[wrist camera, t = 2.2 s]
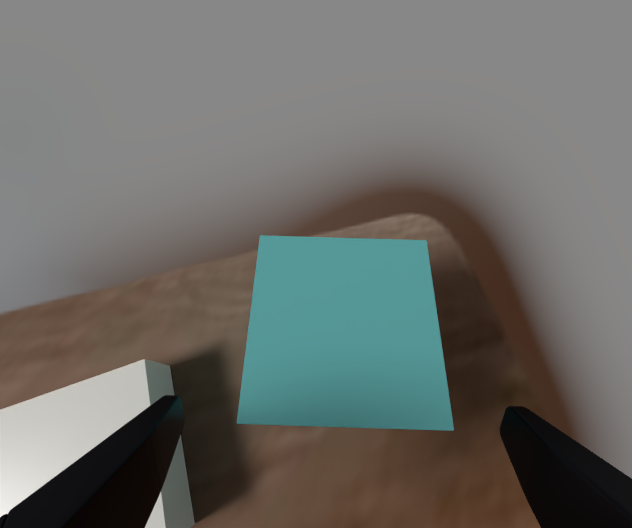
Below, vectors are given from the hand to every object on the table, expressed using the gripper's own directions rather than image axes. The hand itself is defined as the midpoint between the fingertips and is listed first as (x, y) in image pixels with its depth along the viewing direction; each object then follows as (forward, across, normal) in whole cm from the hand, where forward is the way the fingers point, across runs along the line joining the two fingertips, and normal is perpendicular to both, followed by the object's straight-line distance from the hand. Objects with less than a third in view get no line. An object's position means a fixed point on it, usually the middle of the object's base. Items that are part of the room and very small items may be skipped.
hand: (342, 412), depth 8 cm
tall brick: (+9, 0, +5) cm, 10 cm away
